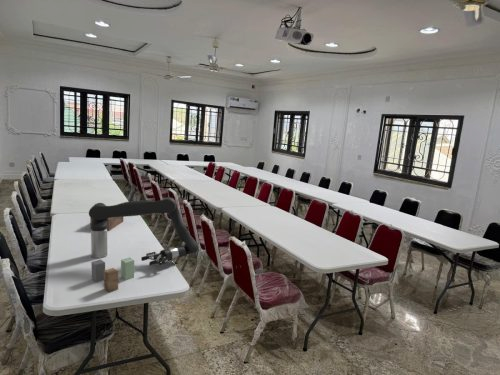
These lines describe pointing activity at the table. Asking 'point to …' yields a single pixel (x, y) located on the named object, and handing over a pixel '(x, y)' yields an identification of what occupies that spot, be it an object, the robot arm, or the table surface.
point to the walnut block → (111, 280)
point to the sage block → (127, 268)
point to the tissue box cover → (112, 222)
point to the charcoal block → (98, 270)
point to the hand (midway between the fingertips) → (145, 261)
